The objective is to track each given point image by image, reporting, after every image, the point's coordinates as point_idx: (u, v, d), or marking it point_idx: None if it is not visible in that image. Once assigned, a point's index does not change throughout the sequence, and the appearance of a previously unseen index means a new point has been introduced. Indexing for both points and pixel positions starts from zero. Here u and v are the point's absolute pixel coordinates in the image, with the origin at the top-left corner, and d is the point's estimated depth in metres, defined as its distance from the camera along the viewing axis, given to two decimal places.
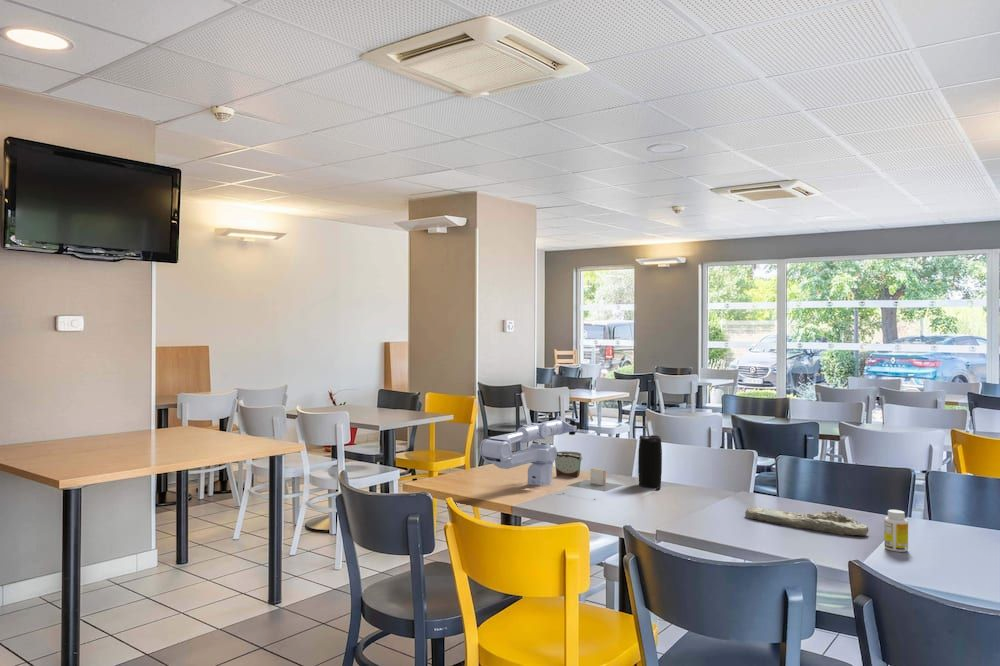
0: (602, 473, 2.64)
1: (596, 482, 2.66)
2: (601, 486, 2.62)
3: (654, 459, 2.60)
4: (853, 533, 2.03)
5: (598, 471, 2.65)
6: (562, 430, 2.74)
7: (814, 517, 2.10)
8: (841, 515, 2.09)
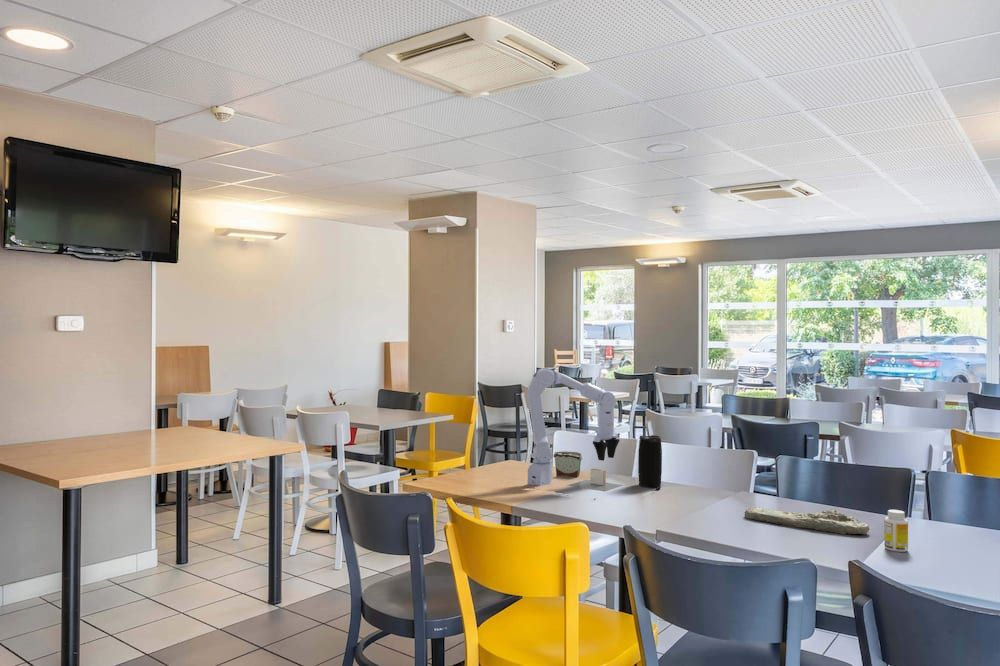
0: (602, 473, 2.64)
1: (596, 482, 2.66)
2: (601, 486, 2.62)
3: (654, 459, 2.60)
4: (855, 532, 2.03)
5: (598, 471, 2.65)
6: (600, 432, 2.69)
7: (815, 516, 2.11)
8: (841, 514, 2.10)
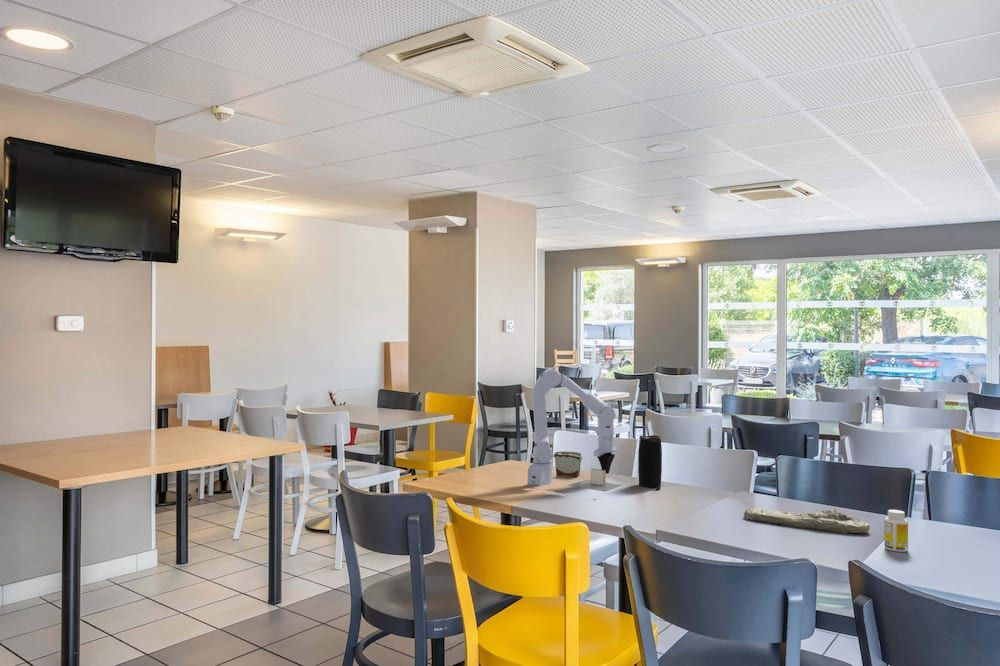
0: (602, 473, 2.64)
1: (596, 482, 2.66)
2: (601, 486, 2.62)
3: (654, 459, 2.60)
4: (857, 531, 2.05)
5: (598, 471, 2.65)
6: (600, 447, 2.69)
7: (816, 516, 2.11)
8: (841, 513, 2.11)
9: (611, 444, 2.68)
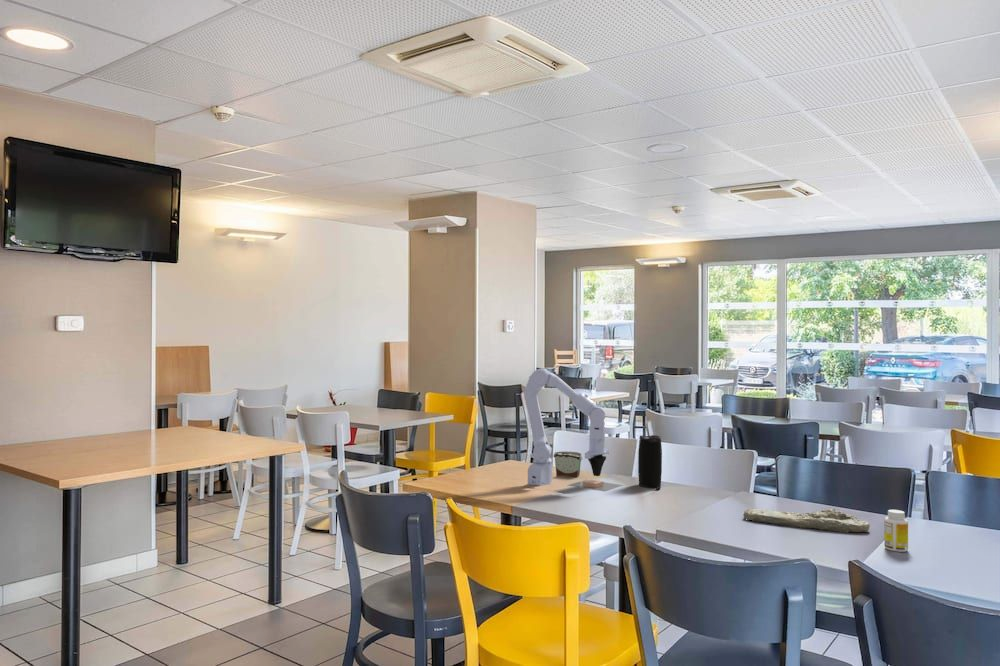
0: None
1: None
2: (601, 486, 2.62)
3: (654, 459, 2.60)
4: (858, 530, 2.06)
5: (591, 486, 2.61)
6: (591, 449, 2.64)
7: (817, 516, 2.12)
8: (841, 512, 2.12)
9: (602, 446, 2.63)
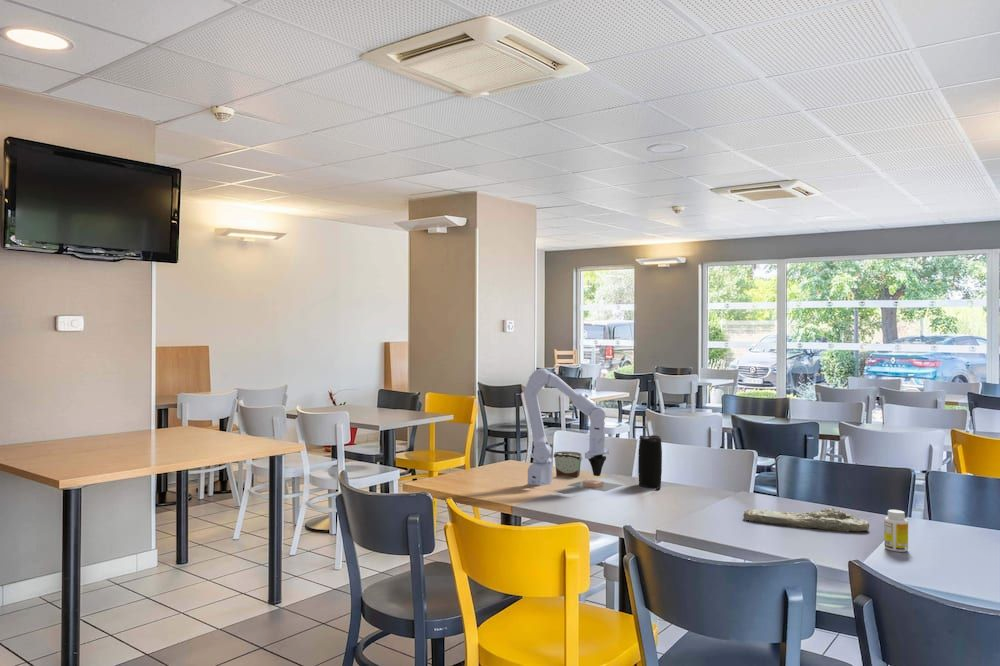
0: None
1: None
2: (601, 486, 2.62)
3: (654, 459, 2.60)
4: (858, 529, 2.07)
5: (591, 486, 2.61)
6: (591, 449, 2.64)
7: (817, 516, 2.12)
8: (841, 512, 2.13)
9: (602, 446, 2.63)
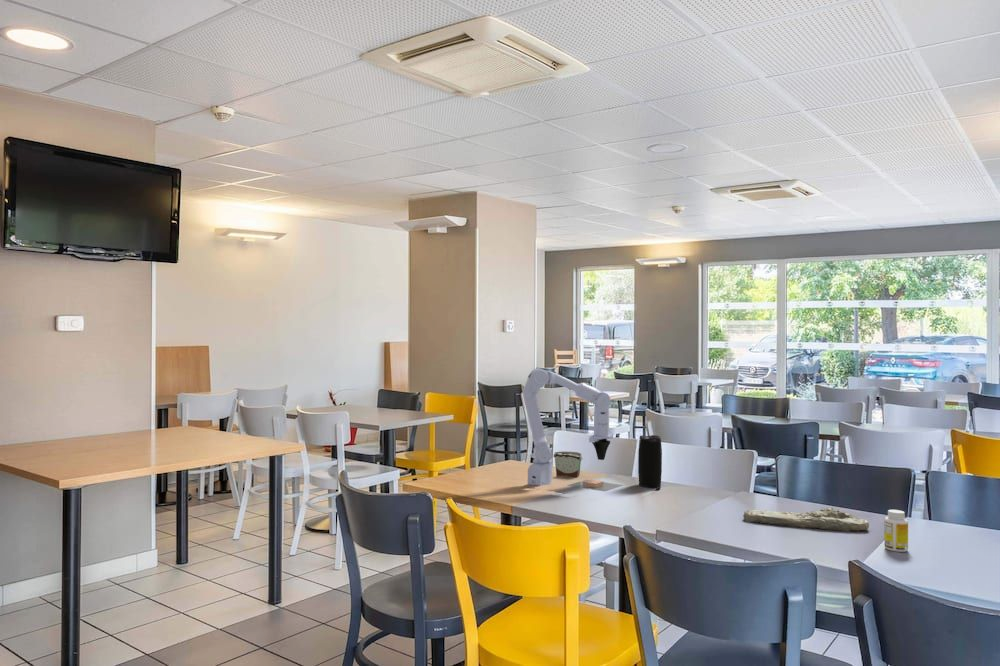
0: None
1: None
2: (601, 486, 2.62)
3: (654, 459, 2.60)
4: (859, 528, 2.08)
5: (591, 486, 2.61)
6: (595, 433, 2.68)
7: (818, 515, 2.12)
8: (840, 511, 2.14)
9: (606, 430, 2.67)
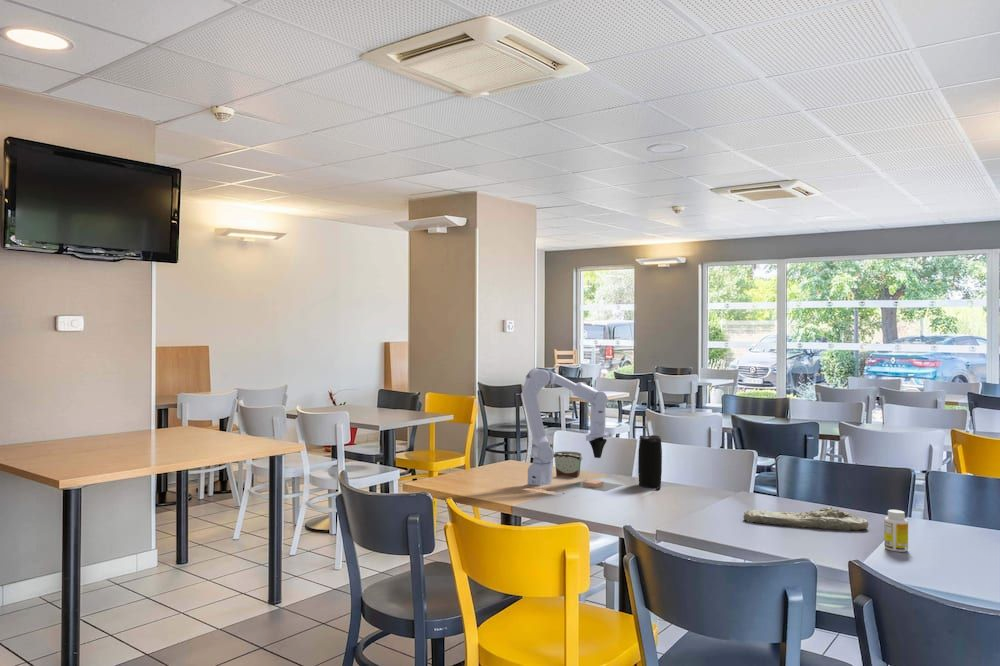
0: None
1: None
2: (601, 486, 2.62)
3: (654, 459, 2.60)
4: (859, 527, 2.08)
5: (591, 486, 2.61)
6: (592, 431, 2.72)
7: (818, 515, 2.12)
8: (839, 511, 2.14)
9: (603, 429, 2.71)
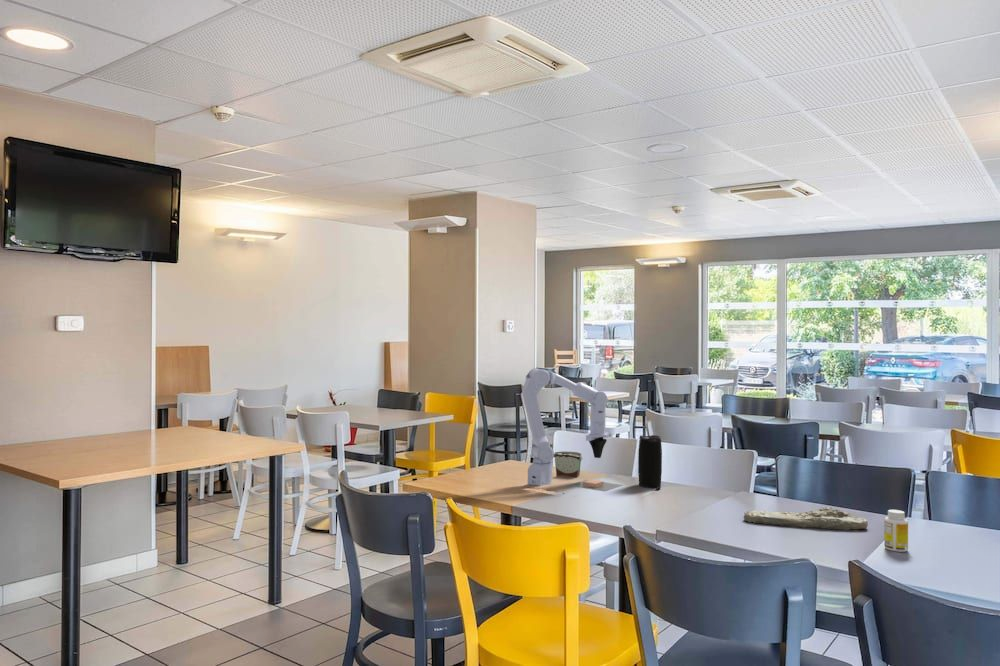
0: None
1: None
2: (601, 486, 2.62)
3: (654, 459, 2.60)
4: (859, 527, 2.09)
5: (591, 486, 2.61)
6: (592, 431, 2.72)
7: (818, 515, 2.13)
8: (839, 510, 2.15)
9: (603, 429, 2.71)
